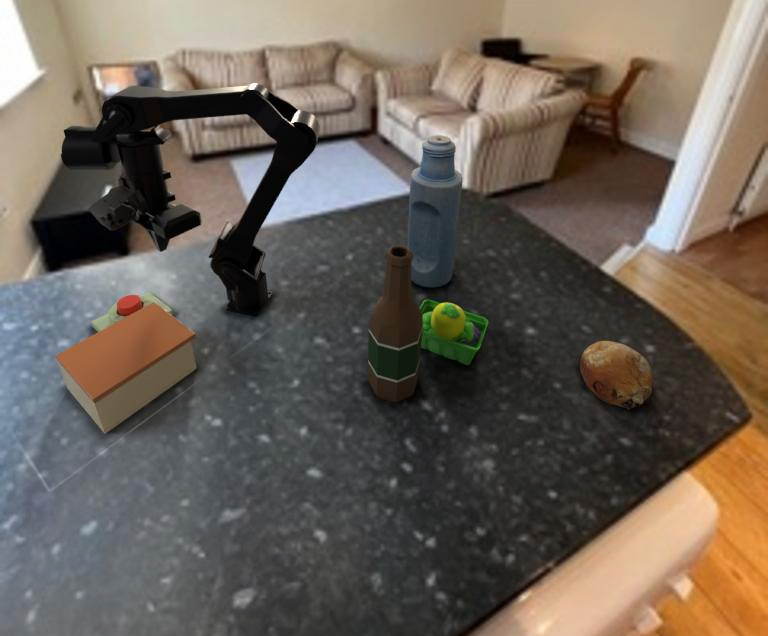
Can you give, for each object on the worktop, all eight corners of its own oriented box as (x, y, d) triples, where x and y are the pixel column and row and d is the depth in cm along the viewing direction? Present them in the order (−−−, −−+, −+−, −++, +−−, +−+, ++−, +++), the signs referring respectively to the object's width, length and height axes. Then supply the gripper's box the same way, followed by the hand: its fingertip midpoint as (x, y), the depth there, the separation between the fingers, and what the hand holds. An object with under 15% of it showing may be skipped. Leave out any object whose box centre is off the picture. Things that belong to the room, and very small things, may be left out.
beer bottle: (366, 362, 72) (368, 235, 61) (414, 360, 72) (424, 234, 62) (369, 406, 64) (371, 270, 54) (422, 403, 65) (434, 268, 55)
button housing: (149, 296, 84) (146, 283, 83) (173, 315, 80) (170, 301, 79) (92, 327, 77) (88, 313, 76) (115, 349, 73) (111, 335, 71)
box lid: (155, 305, 74) (154, 301, 74) (196, 337, 68) (195, 333, 67) (56, 359, 63) (54, 355, 63) (94, 403, 57) (92, 399, 57)
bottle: (459, 270, 94) (475, 136, 82) (439, 295, 87) (453, 152, 74) (419, 255, 99) (429, 126, 86) (396, 278, 91) (403, 140, 79)
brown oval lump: (639, 391, 72) (647, 343, 72) (658, 423, 62) (668, 367, 62) (573, 374, 75) (582, 327, 75) (582, 401, 65) (592, 347, 65)
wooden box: (157, 334, 76) (150, 307, 73) (196, 368, 70) (191, 340, 67) (67, 388, 66) (56, 360, 63) (105, 434, 60) (94, 404, 57)
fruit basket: (486, 341, 76) (494, 288, 72) (472, 380, 69) (481, 324, 64) (423, 320, 81) (427, 269, 76) (404, 354, 73) (408, 300, 68)
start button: (135, 299, 80) (133, 291, 79) (146, 308, 78) (144, 300, 77) (114, 310, 77) (112, 302, 76) (125, 319, 75) (122, 311, 74)
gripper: (61, 169, 70) (87, 252, 77) (121, 204, 60) (145, 296, 67) (132, 149, 78) (150, 225, 85) (195, 177, 68) (210, 261, 75)
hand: (162, 250), depth 78 cm, fingers closed
